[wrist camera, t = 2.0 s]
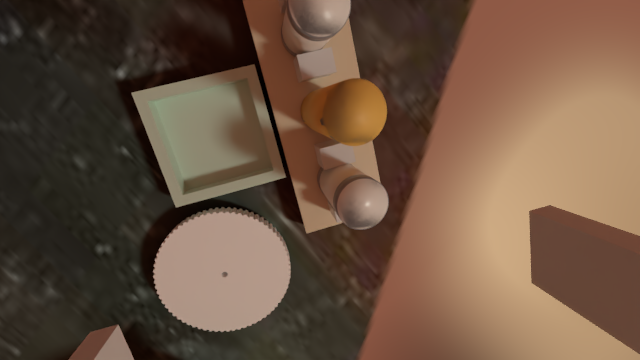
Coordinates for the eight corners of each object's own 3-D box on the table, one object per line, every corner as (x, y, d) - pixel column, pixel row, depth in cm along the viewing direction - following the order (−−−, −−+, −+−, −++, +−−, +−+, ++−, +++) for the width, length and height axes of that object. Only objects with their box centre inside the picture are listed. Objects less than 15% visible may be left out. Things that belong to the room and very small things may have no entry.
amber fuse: (295, 95, 29) (315, 87, 18) (336, 85, 30) (380, 71, 18) (306, 135, 30) (331, 153, 19) (344, 125, 31) (391, 137, 19)
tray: (142, 93, 29) (131, 92, 27) (255, 67, 30) (254, 64, 28) (182, 200, 32) (175, 207, 30) (284, 172, 33) (286, 177, 31)
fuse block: (240, -6, 29) (225, -76, 18) (332, -25, 30) (371, -102, 19) (303, 224, 35) (321, 278, 24) (377, 203, 36) (426, 245, 25)
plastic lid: (307, 228, 36) (310, 237, 33) (262, 329, 38) (262, 344, 35) (186, 185, 32) (180, 191, 30) (143, 298, 34) (134, 313, 32)
